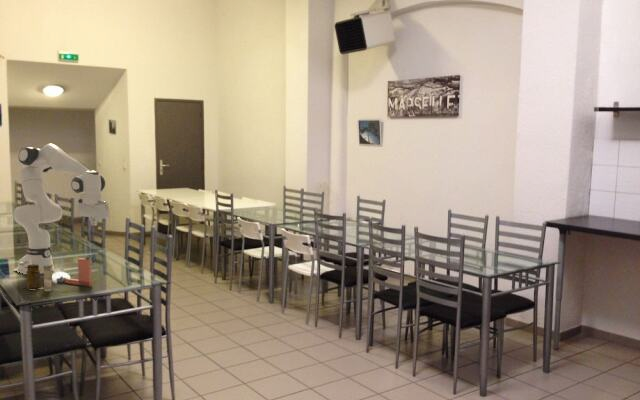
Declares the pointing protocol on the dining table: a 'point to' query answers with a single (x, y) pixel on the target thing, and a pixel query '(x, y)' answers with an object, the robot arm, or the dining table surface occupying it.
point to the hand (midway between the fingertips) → (94, 225)
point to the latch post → (48, 277)
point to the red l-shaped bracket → (82, 273)
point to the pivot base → (61, 280)
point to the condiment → (33, 277)
